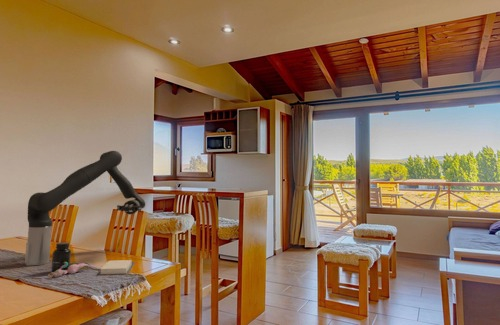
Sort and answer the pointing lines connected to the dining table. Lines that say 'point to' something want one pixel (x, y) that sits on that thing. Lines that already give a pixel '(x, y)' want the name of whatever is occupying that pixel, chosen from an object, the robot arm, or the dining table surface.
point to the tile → (116, 267)
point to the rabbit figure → (70, 270)
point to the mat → (119, 274)
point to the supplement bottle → (61, 256)
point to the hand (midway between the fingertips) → (126, 209)
